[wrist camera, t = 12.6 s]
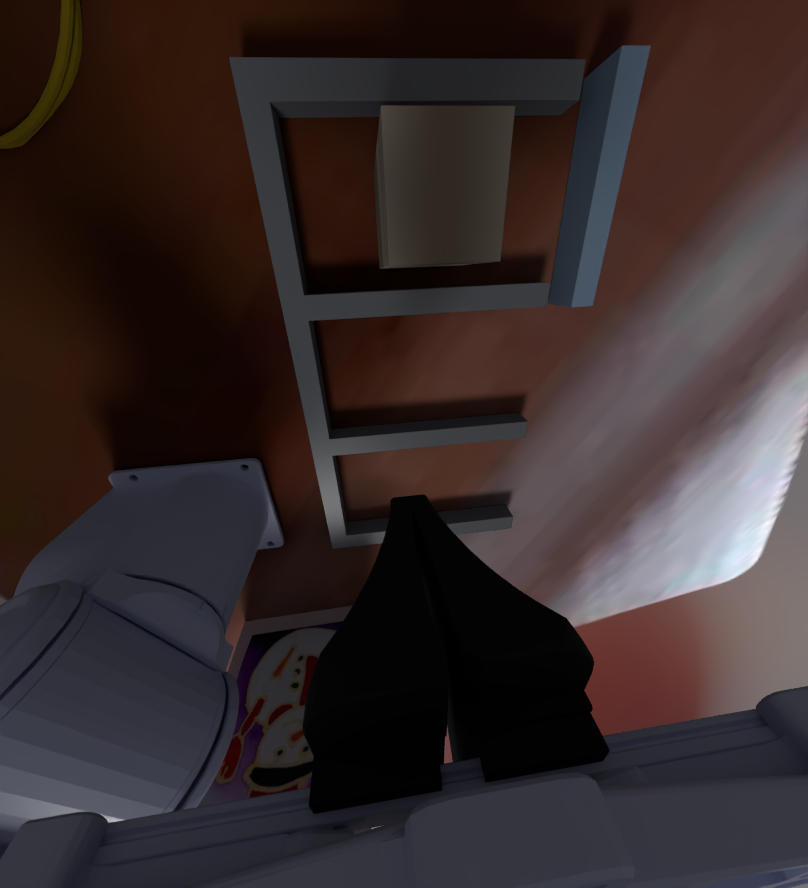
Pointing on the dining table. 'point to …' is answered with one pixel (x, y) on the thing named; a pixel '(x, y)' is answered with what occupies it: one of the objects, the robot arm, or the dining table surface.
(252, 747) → the greeting card
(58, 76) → the olive curved band
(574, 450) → the dining table surface
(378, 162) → the plug block
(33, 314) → the dining table surface
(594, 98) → the divided bay frame
